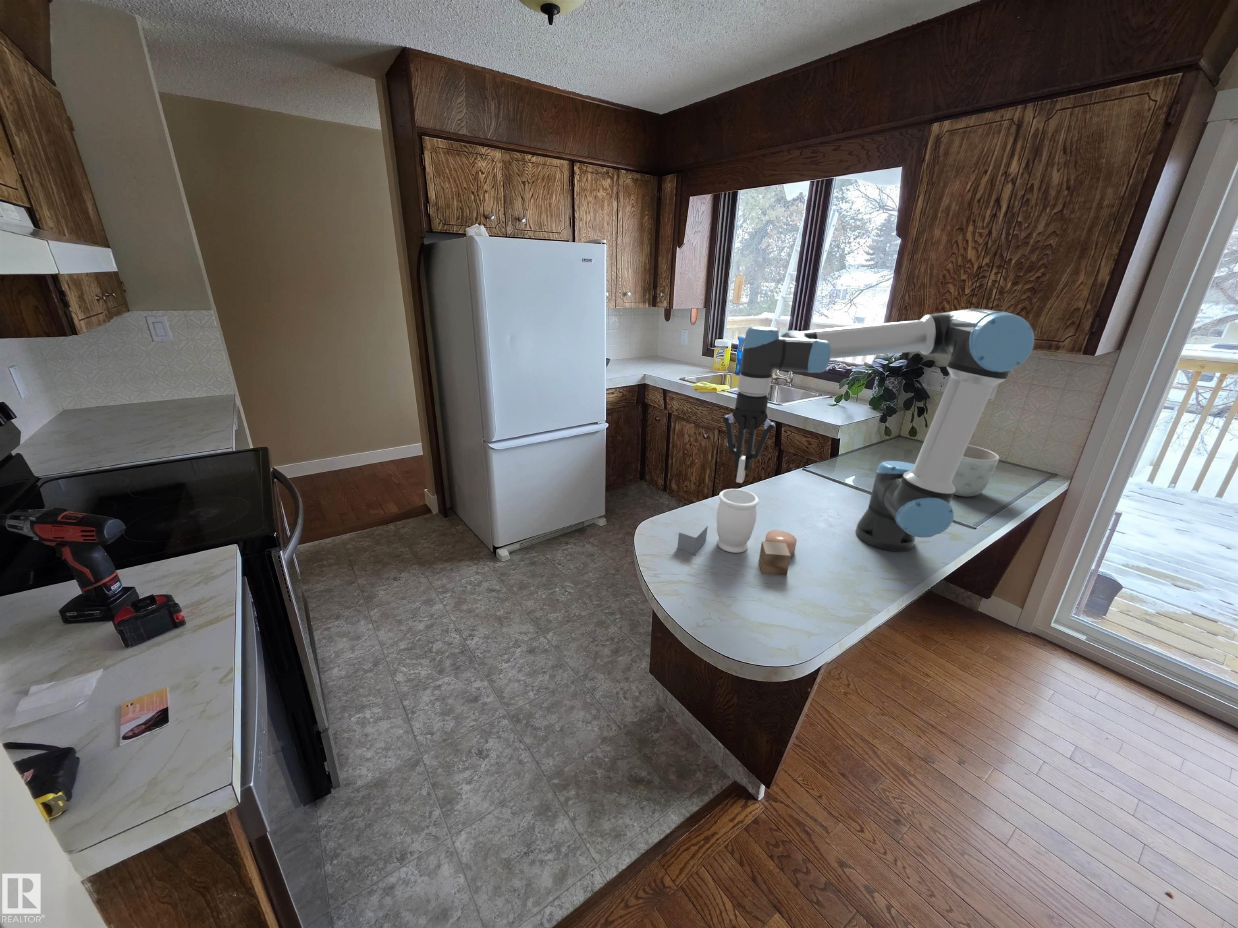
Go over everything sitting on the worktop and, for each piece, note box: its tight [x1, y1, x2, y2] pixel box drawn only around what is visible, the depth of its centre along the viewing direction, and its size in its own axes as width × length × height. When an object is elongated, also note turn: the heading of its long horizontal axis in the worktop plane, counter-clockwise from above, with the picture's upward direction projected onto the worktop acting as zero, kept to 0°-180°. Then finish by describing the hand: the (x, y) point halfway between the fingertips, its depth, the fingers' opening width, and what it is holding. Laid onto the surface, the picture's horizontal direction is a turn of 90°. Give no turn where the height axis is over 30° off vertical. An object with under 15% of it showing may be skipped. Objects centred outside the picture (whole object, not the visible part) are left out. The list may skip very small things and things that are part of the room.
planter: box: [952, 444, 1000, 497], centre depth 175 cm, size 17×17×15 cm
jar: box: [716, 488, 759, 554], centre depth 135 cm, size 11×10×15 cm
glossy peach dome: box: [764, 530, 798, 558], centre depth 136 cm, size 8×8×4 cm
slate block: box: [676, 520, 708, 554], centre depth 137 cm, size 5×8×5 cm, turn 148°
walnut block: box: [758, 540, 792, 577], centre depth 127 cm, size 6×6×6 cm
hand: (740, 480), depth 131 cm, fingers closed
